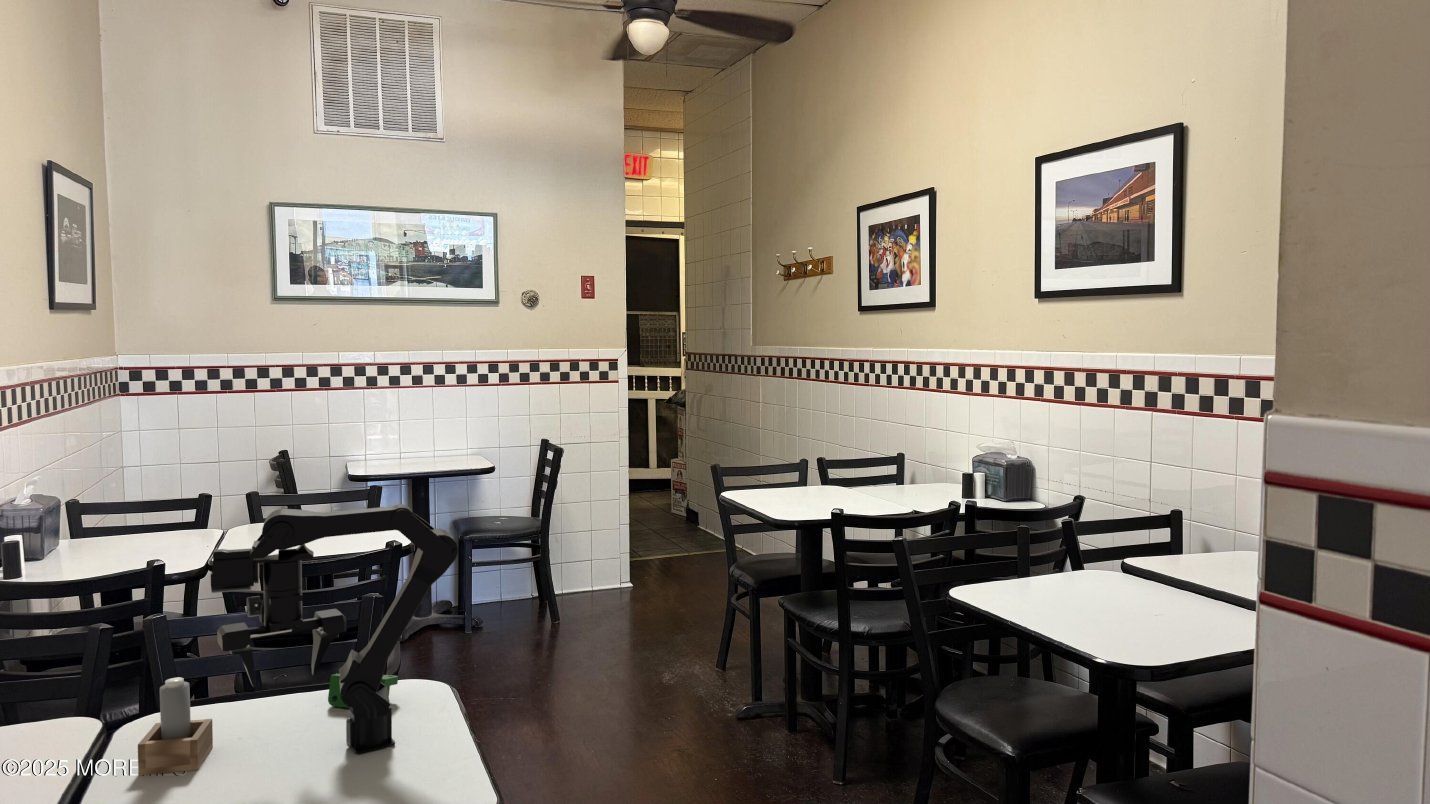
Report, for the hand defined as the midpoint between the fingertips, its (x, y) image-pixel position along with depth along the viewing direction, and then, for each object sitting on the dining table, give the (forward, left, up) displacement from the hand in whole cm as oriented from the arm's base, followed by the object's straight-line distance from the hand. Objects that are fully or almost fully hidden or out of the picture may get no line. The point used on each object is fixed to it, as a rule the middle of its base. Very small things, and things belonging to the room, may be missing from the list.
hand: (284, 679), depth 152 cm
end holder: (+15, -8, -13) cm, 21 cm away
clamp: (-17, -16, -13) cm, 27 cm away
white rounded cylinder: (+15, -8, -12) cm, 21 cm away
